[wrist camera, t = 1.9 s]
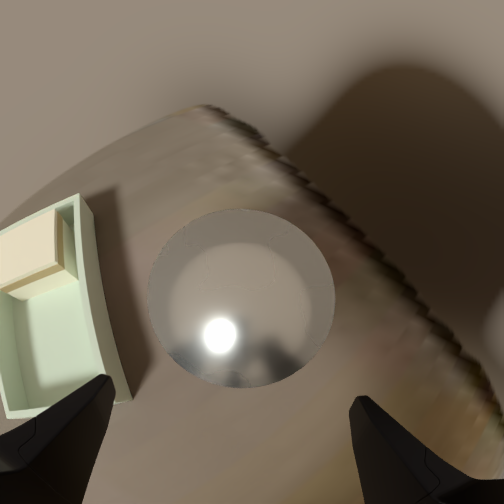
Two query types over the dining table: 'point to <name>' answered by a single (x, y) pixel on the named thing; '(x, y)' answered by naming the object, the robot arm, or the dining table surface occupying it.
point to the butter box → (37, 257)
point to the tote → (58, 330)
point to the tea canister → (241, 298)
